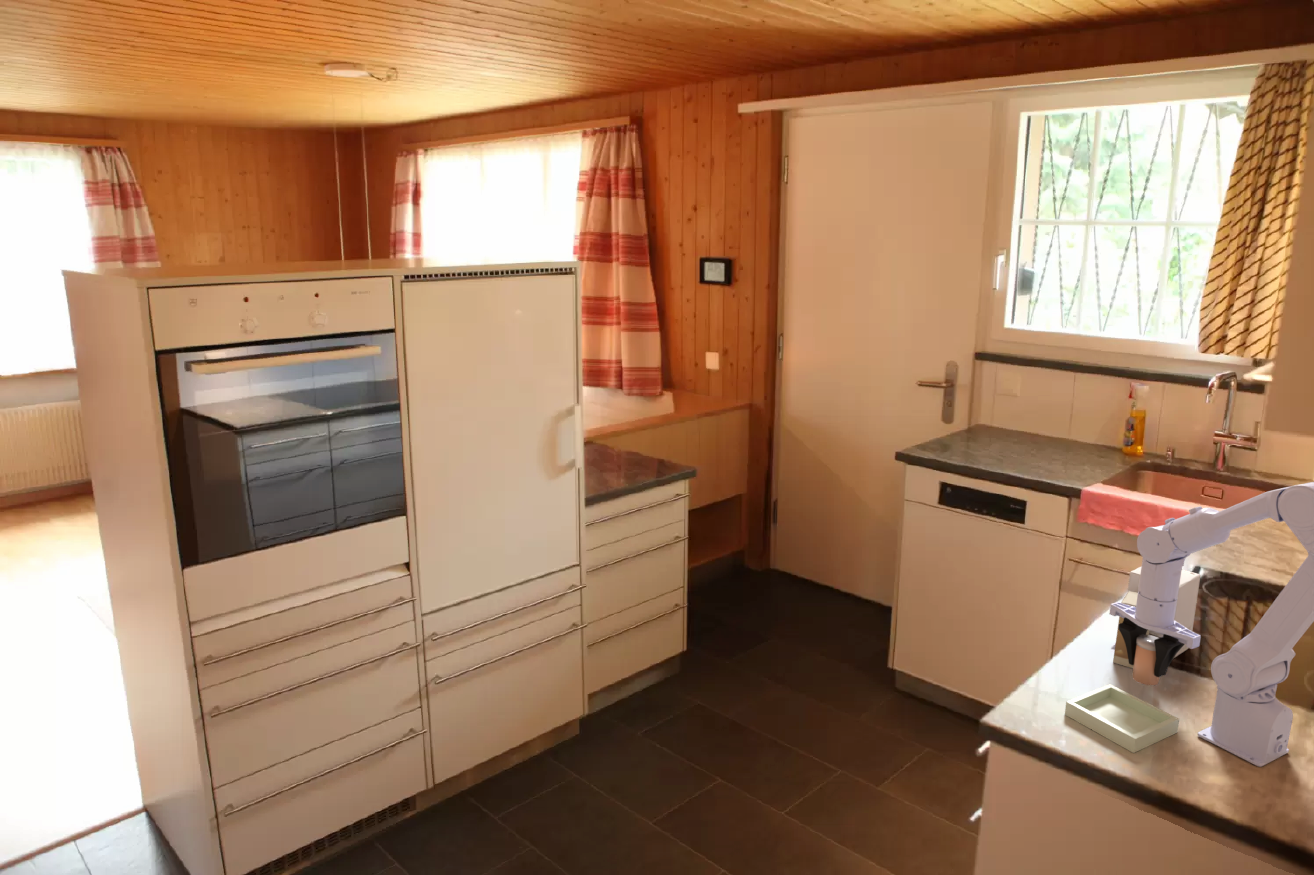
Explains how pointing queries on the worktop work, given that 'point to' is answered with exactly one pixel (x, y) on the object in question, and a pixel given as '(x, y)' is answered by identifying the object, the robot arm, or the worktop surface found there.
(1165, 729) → the tray
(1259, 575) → the worktop surface
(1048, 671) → the worktop surface
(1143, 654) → the shaker
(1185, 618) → the supplement box
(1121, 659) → the skincare box
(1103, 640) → the worktop surface
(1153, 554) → the robot arm
